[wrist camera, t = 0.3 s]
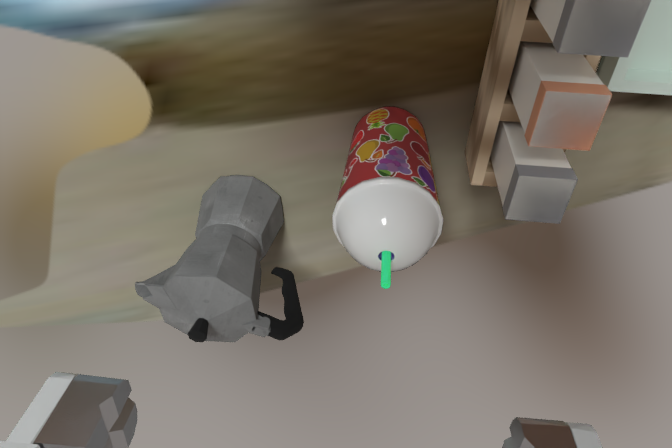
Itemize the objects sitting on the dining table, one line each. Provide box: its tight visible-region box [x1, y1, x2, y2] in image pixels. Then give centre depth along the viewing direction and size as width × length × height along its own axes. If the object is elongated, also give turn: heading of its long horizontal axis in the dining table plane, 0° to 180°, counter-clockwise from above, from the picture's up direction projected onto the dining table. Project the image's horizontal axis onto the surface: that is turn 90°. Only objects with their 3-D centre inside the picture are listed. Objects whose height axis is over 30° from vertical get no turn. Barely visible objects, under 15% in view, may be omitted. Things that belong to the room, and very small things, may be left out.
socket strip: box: [465, 0, 601, 187], centre depth 41 cm, size 21×7×6 cm, turn 178°
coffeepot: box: [135, 175, 304, 342], centre depth 51 cm, size 15×9×18 cm, turn 71°
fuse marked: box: [508, 41, 612, 151], centre depth 38 cm, size 4×4×11 cm
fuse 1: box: [490, 121, 578, 223], centre depth 42 cm, size 4×4×11 cm
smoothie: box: [332, 107, 443, 289], centre depth 42 cm, size 8×8×20 cm
